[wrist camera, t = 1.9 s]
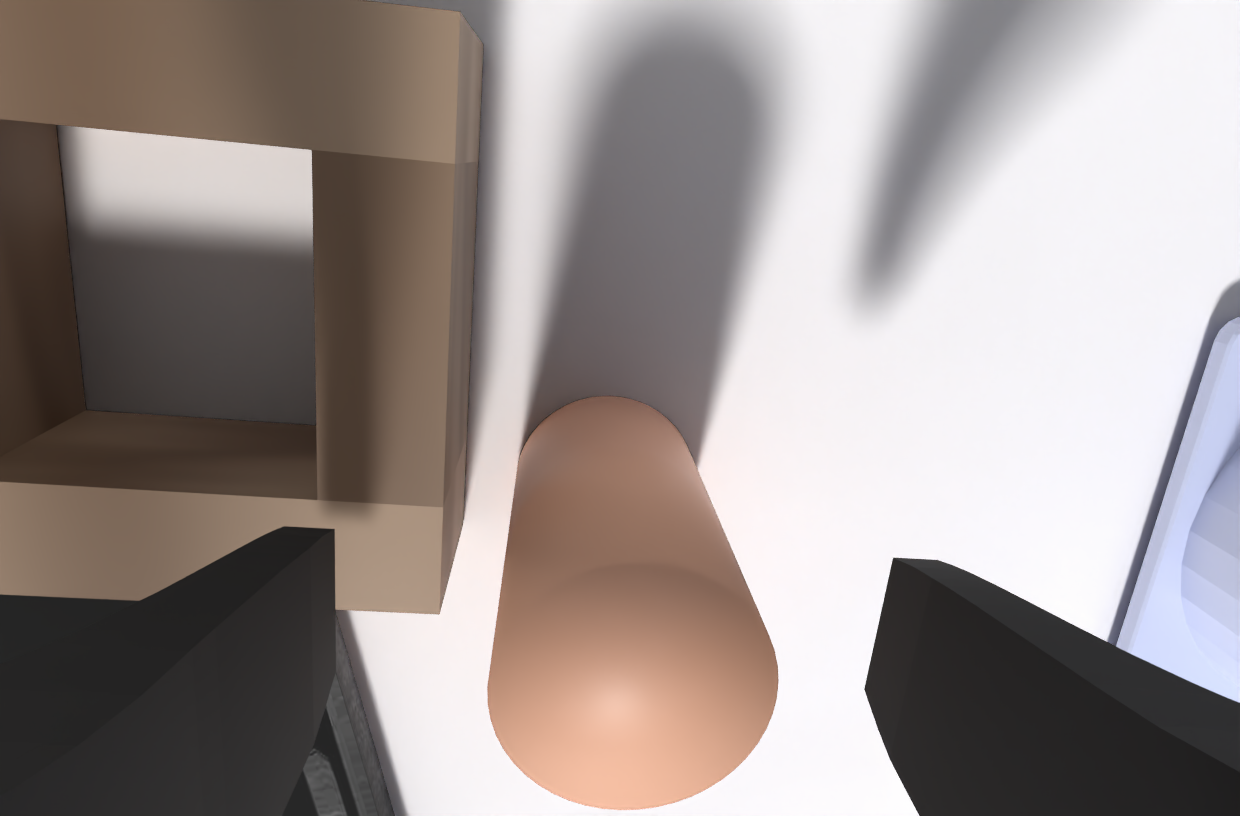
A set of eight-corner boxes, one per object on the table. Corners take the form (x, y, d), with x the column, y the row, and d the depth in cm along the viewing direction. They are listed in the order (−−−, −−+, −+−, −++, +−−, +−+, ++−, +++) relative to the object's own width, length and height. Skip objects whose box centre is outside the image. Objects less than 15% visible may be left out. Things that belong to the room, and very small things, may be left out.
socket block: (483, 44, 12) (459, 11, 9) (463, 523, 15) (439, 614, 12) (-86, -20, 11) (-301, -78, 9) (-10, 497, 14) (-158, 587, 11)
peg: (703, 402, 14) (799, 570, 8) (682, 564, 15) (756, 813, 9) (521, 389, 14) (494, 554, 8) (511, 555, 15) (481, 806, 9)
